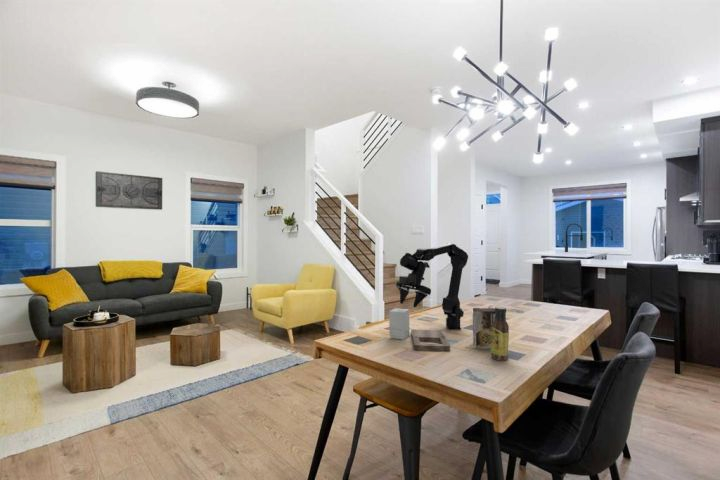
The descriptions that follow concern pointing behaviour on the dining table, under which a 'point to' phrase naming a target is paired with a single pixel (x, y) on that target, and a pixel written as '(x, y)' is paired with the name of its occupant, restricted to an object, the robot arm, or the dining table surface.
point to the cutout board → (429, 340)
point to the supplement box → (399, 323)
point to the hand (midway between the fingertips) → (407, 305)
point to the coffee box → (482, 327)
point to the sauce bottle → (500, 335)
